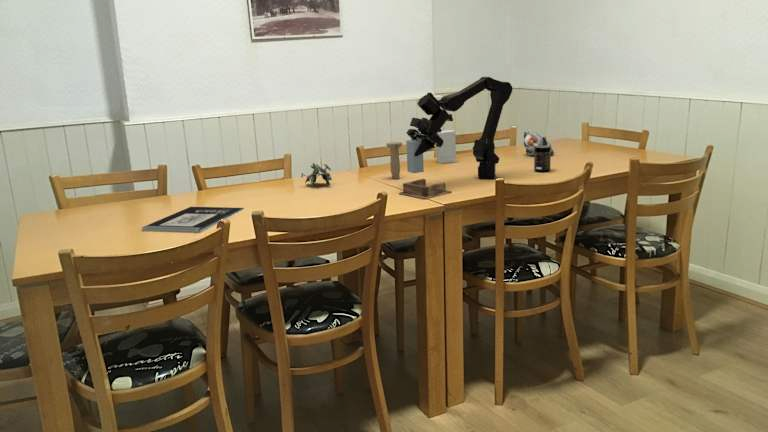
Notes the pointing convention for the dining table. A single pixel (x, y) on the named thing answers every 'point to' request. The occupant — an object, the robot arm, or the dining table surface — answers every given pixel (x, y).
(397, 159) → the handle
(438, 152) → the skincare box
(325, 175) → the dark green irregular figure
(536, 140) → the lucky cat figurine
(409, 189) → the brown wooden tray
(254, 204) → the dining table surface
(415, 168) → the post
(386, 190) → the dining table surface
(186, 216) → the sketchbook
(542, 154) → the supplement container
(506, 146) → the dining table surface
